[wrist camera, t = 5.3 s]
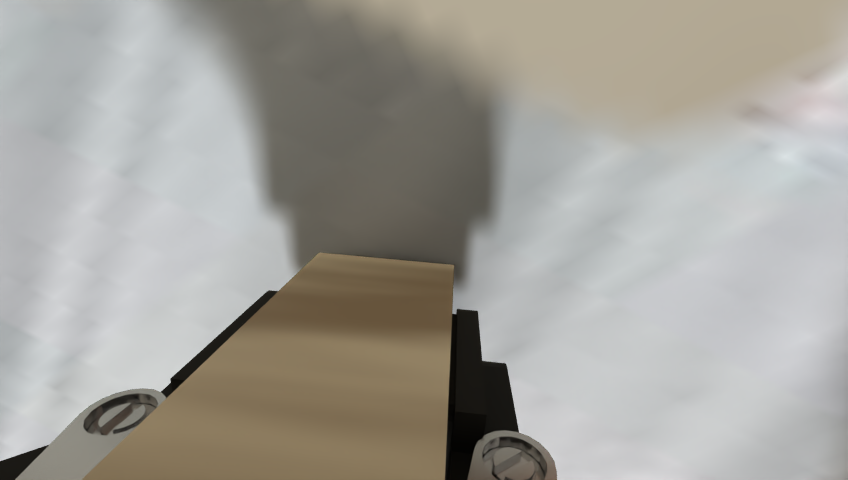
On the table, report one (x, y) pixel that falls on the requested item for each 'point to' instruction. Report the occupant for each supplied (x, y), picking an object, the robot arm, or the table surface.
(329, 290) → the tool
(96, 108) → the table surface
